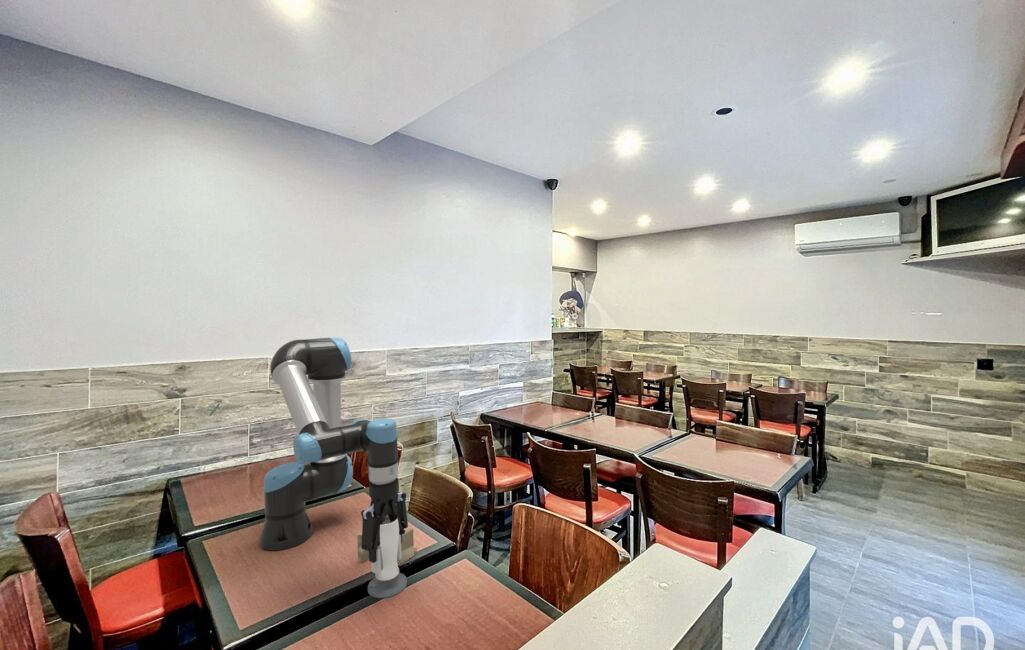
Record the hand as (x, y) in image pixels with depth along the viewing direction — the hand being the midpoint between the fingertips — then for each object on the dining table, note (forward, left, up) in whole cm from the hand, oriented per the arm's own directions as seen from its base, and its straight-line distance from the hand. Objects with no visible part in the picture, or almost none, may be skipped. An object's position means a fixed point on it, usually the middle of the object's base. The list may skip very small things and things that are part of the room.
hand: (386, 564), depth 113 cm
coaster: (0, 0, -6) cm, 6 cm away
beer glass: (0, 0, -3) cm, 3 cm away
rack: (-10, +9, -6) cm, 15 cm away
